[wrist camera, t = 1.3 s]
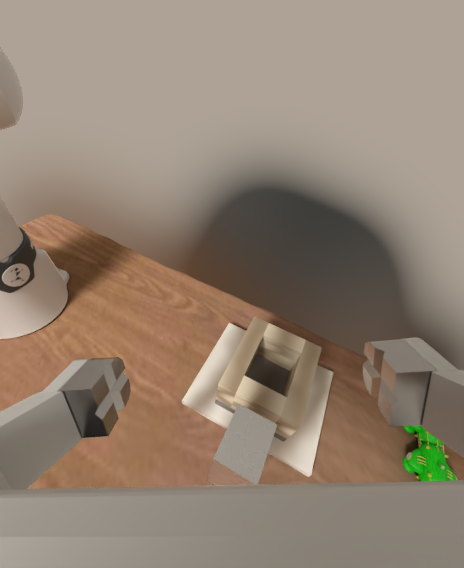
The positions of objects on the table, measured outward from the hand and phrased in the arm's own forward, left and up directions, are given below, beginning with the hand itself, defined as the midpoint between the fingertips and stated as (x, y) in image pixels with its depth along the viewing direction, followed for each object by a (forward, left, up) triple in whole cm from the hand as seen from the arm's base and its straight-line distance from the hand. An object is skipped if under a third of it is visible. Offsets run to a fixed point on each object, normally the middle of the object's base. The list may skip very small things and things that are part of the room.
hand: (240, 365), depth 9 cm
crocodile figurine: (+27, +18, -34) cm, 47 cm away
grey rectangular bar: (+2, +3, -34) cm, 34 cm away
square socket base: (+2, +15, -34) cm, 37 cm away
